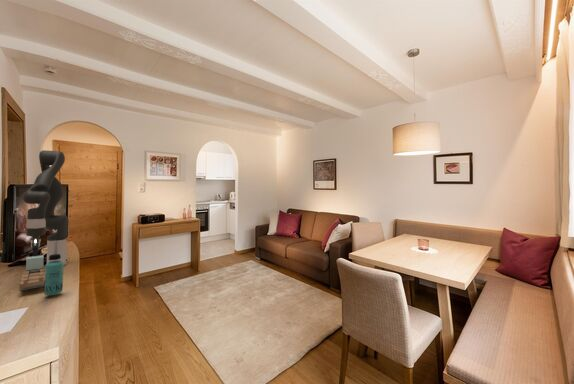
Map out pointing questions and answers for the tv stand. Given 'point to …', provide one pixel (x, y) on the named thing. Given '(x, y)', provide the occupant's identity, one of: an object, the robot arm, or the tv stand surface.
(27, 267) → the grey rectangular block
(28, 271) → the beam
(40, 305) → the tv stand surface
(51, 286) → the beverage bottle
